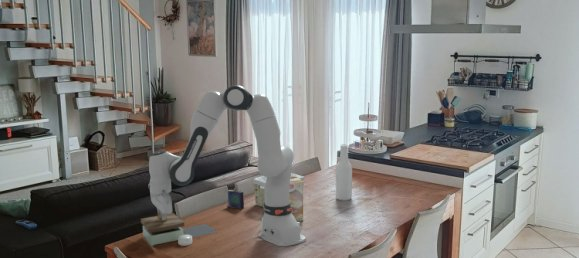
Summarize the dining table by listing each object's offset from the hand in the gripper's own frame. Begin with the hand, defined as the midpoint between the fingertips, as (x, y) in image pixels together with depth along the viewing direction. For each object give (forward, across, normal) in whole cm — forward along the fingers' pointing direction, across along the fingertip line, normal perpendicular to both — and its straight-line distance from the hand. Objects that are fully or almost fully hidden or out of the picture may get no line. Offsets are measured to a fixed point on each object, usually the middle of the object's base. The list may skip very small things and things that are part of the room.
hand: (162, 218), depth 229 cm
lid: (+3, 0, 0) cm, 3 cm away
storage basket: (+10, +18, -68) cm, 71 cm away
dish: (+9, 0, 0) cm, 9 cm away
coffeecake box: (+10, -7, -59) cm, 60 cm away
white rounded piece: (+9, -12, -6) cm, 16 cm away
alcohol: (+10, +7, -103) cm, 104 cm away
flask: (+10, +24, -46) cm, 53 cm away
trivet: (+9, -1, -16) cm, 19 cm away
